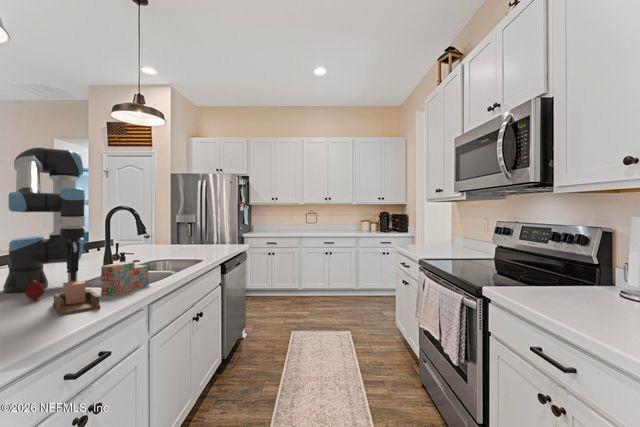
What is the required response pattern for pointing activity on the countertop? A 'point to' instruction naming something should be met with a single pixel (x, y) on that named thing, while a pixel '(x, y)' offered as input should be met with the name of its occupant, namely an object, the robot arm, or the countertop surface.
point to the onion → (34, 290)
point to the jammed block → (74, 292)
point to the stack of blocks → (122, 277)
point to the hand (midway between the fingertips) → (72, 288)
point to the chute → (89, 303)
